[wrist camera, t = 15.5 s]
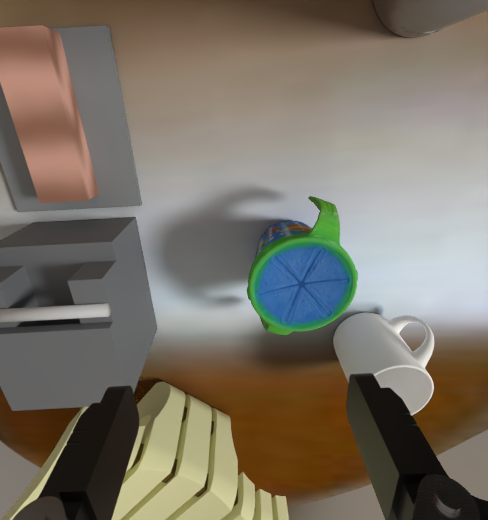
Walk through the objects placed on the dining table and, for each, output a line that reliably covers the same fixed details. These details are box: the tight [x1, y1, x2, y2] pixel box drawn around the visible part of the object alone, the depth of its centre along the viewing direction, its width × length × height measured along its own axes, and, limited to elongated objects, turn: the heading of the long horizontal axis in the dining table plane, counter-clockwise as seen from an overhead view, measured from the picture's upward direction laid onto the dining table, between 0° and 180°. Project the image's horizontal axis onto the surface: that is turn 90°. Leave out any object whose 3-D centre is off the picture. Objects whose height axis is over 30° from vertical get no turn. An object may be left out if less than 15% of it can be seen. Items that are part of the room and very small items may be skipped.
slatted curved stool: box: [2, 382, 289, 520], centre depth 44 cm, size 30×16×18 cm, turn 52°
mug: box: [333, 313, 434, 415], centre depth 41 cm, size 9×12×11 cm
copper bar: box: [0, 25, 99, 203], centre depth 31 cm, size 15×5×3 cm, turn 3°
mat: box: [0, 25, 142, 212], centre depth 33 cm, size 17×14×1 cm
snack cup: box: [247, 196, 358, 335], centre depth 35 cm, size 16×10×10 cm
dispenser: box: [0, 217, 157, 411], centre depth 35 cm, size 16×12×13 cm
